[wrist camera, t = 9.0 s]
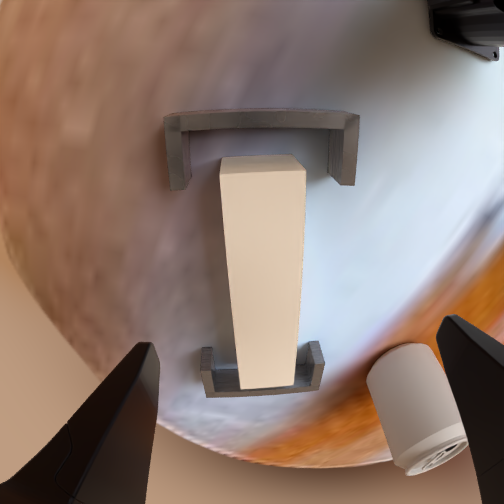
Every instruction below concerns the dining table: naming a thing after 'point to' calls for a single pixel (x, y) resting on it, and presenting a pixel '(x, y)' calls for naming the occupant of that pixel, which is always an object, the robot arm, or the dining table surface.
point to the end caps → (339, 168)
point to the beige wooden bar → (264, 262)
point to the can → (416, 408)
